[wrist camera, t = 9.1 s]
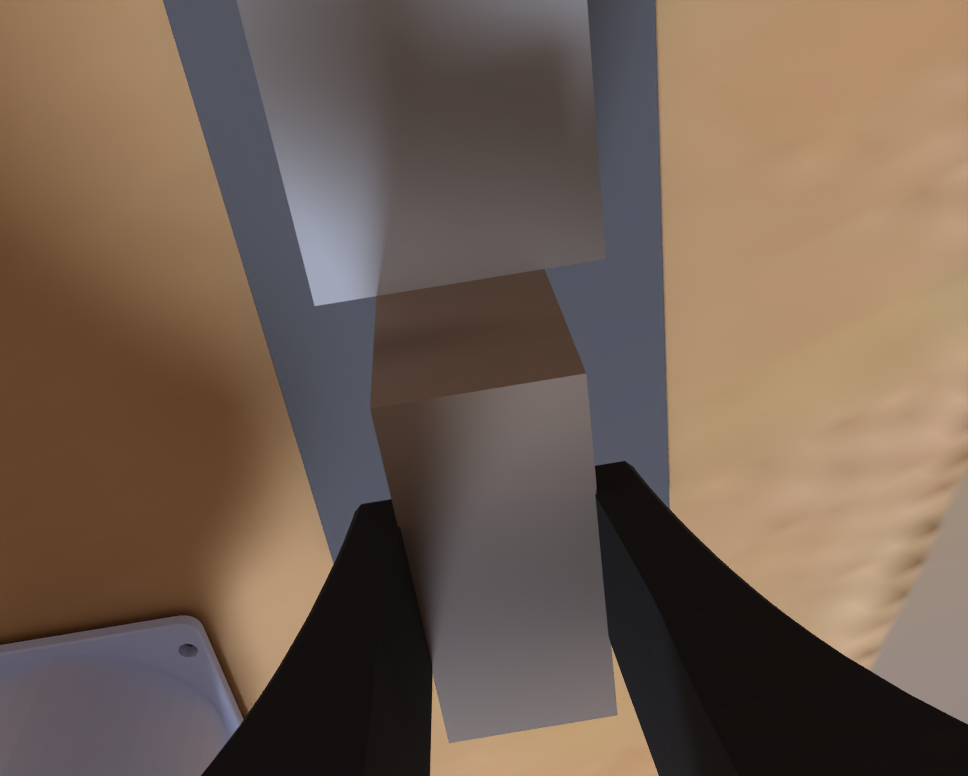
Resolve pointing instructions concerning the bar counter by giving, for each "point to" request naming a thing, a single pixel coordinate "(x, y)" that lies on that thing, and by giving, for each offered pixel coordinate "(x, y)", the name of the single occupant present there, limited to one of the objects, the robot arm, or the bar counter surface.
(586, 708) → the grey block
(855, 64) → the bar counter surface
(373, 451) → the mat
